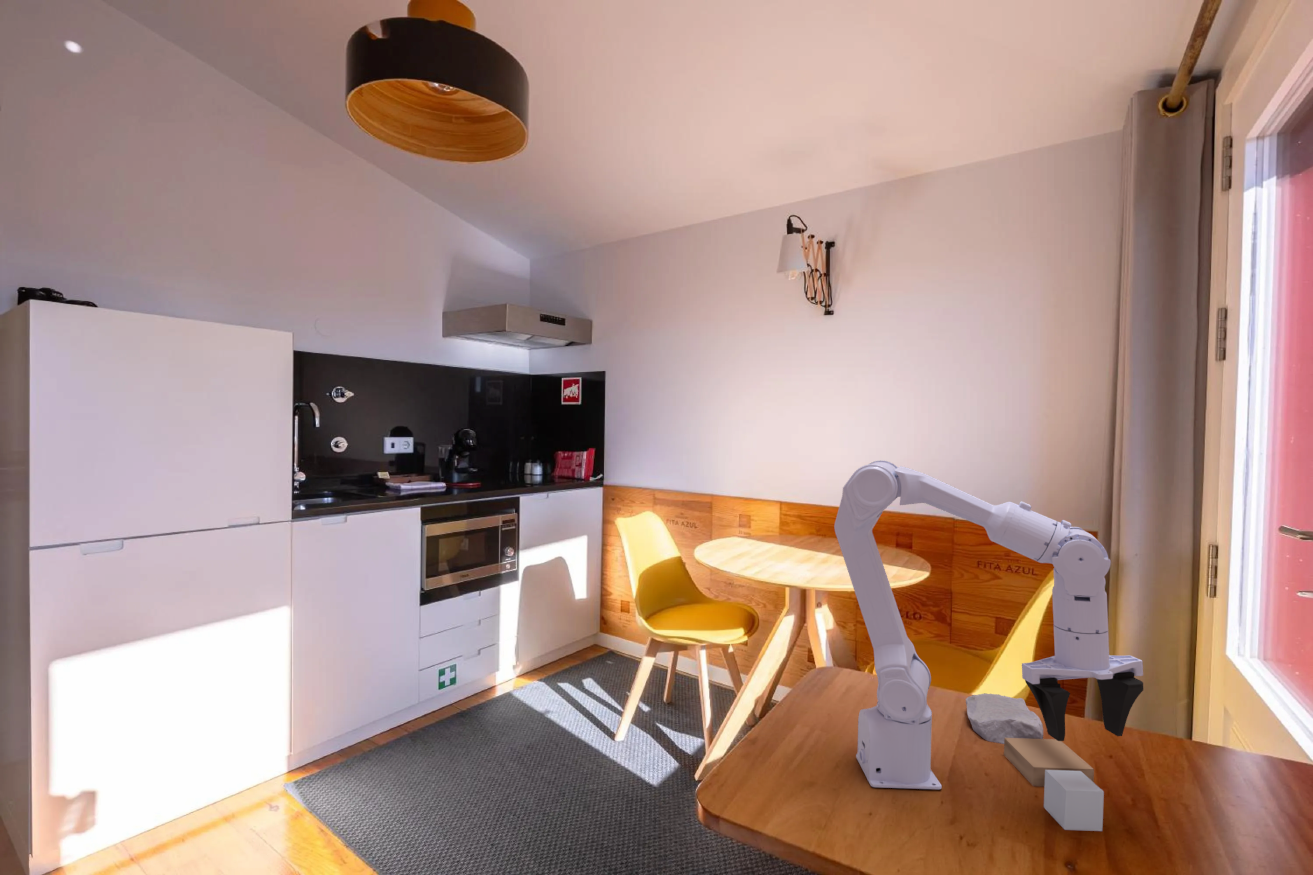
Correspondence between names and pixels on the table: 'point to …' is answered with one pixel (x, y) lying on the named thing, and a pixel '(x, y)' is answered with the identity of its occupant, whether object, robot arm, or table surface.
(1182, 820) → the table surface
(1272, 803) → the table surface
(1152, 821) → the table surface
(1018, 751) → the tan square block
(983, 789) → the table surface
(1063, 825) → the light grey block
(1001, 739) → the stone block
